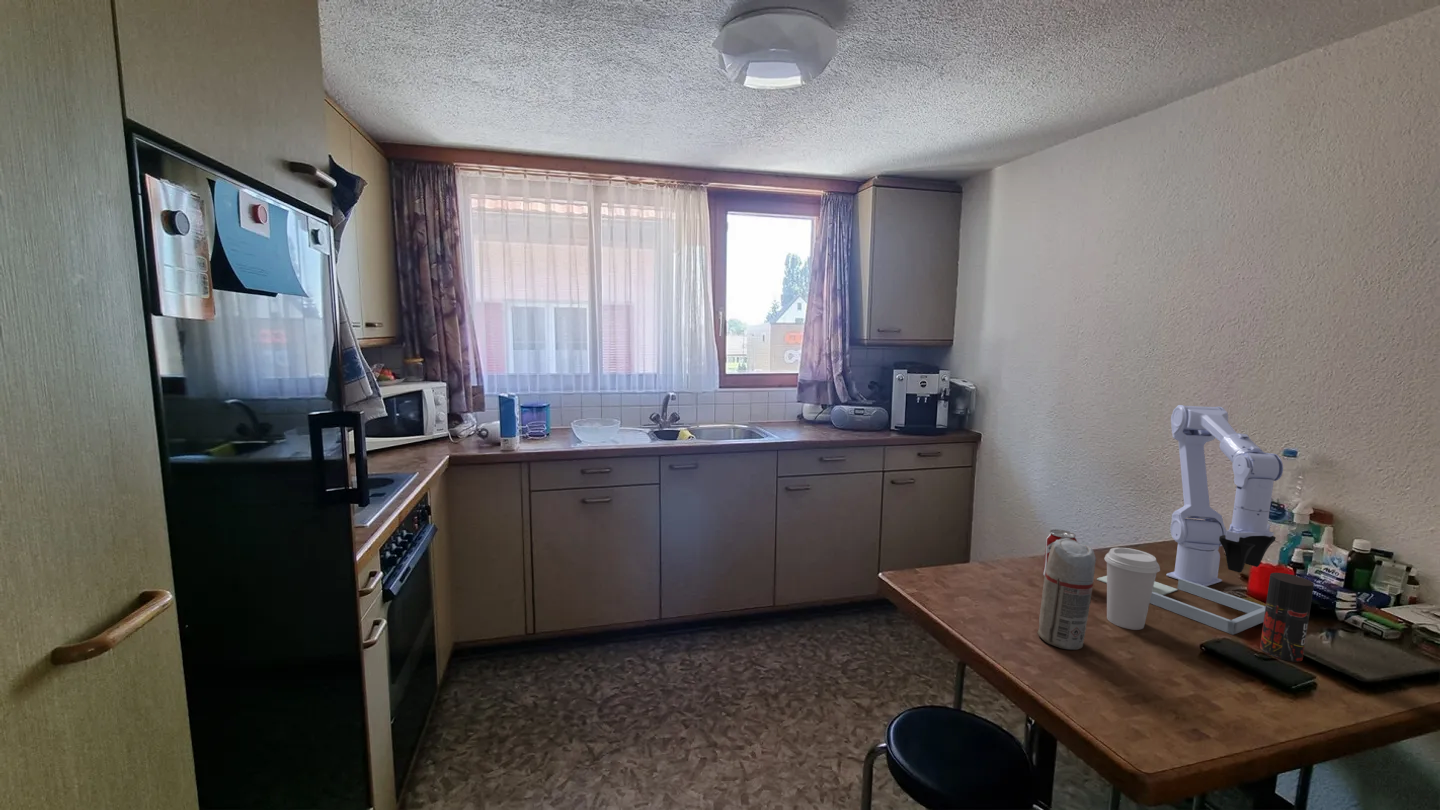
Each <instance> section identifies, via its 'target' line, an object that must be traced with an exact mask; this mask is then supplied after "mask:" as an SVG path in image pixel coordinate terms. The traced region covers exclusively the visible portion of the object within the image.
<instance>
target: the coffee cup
mask: <svg viewBox="0 0 1440 810" xmlns="http://www.w3.org/2000/svg"><path fill="white" fill-rule="evenodd" d="M1104 561H1105V562H1106V576H1107V583H1106V619H1107V620H1108V622H1110V623H1111V624H1113V625H1115V626H1117V627H1120V628H1123V629H1126V630H1127V629H1128V630H1133V631H1139V630H1143V629H1144V628H1145V623H1146V620H1147V615H1148V611H1149V608H1150V607H1149V606H1150V604H1151V603H1150V599H1151V594H1152V590H1153V586H1154V582H1155V581H1156V577H1157V573H1159V572H1160V571H1161V567H1160V564H1159V563H1158V562H1157V558H1156V557H1155V555H1153V554H1151V553H1149V552H1146V551H1143V550H1139V549H1134V548H1129V547H1112V548H1110V549H1109V551H1108V552H1107V553H1106V554H1105V555H1104Z"/></svg>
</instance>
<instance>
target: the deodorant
mask: <svg viewBox="0 0 1440 810" xmlns="http://www.w3.org/2000/svg"><path fill="white" fill-rule="evenodd" d="M1268 582H1269V583H1268V587H1267V589H1268V590H1267V595H1266V602H1265V606H1266V608H1265V615H1264V622H1262V628H1261V629H1262V630H1261V635H1260V636H1261V638H1260V642H1259V643H1260V645H1259V648H1260V650H1261V651H1262V652H1264V654H1266V655H1269V656H1271V655H1272V656H1271V657H1273V656H1274V658H1277V659H1279V660H1283V661H1288V662H1293V663H1298V662H1302V661H1303V658H1304V652H1305V646H1306V641H1307V640H1306V639H1307V633H1308V626H1309V621H1310V620H1309V619H1310V613H1311V608H1312V607H1311V606H1312V600H1313V593H1314V586H1315V582H1313V581H1311V580H1310V579H1307V578H1305V577H1302V576H1299V575H1294V574H1289V573H1285V572H1284V573H1283V572H1271V573H1270V575H1269V581H1268Z"/></svg>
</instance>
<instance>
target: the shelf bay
mask: <svg viewBox="0 0 1440 810" xmlns="http://www.w3.org/2000/svg"><path fill="white" fill-rule="evenodd" d="M1177 580H1178V579H1177ZM1176 589H1178V590H1179V591H1181V592H1185V593H1189V594H1192V595H1194V596H1197V597H1199V598H1203V599H1206V600H1209V601H1211V602H1215V603H1217V604H1220V605H1223V606H1225V607H1229V608H1232V609H1234V610H1236V611H1237V610H1238V611H1240V612H1243V613H1245V614H1243V615H1240V616H1238V617H1236V618H1233V619H1229V618H1227V617H1224V616H1221V615H1219V614H1215V613H1213V612H1210V611H1207V610H1204V609H1202V608H1199V607H1196V606H1194V605H1191V604H1187V603H1185V602H1182V601H1179V600H1176V599H1174V598H1171V597H1169V596H1166V595H1161V594H1158V593H1155V592H1152V594H1151V599H1150V603H1149V604H1151V605H1154V606H1155V607H1159V608H1162V609H1165V610H1167V611H1169V612H1172V613H1175V614H1177V615H1179V616H1183V617H1185V618H1188V619H1191V620H1193V621H1196V622H1198V623H1200V624H1204V625H1205V626H1209V627H1212V628H1214V629H1217V630H1218V631H1222V632H1225V633H1227V634H1230V635H1232V636H1233V635H1236V634H1238V633H1241V632H1243V631H1245V630H1248V629H1250V628H1252V627H1255V626H1257V625H1259V624H1263V622H1264V615H1265V608H1266V605H1263V604H1259V603H1257V602H1253V601H1250V600H1248V599H1244V598H1241V597H1238V596H1235V595H1232V594H1229V593H1226V592H1223V591H1220V590H1218V589H1215V588H1211V587H1209V586H1203V585H1200V584H1197V583H1193V582H1190V581H1187V580H1184V579H1181V578H1180V579H1179V580H1178V582H1177V588H1176Z"/></svg>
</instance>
